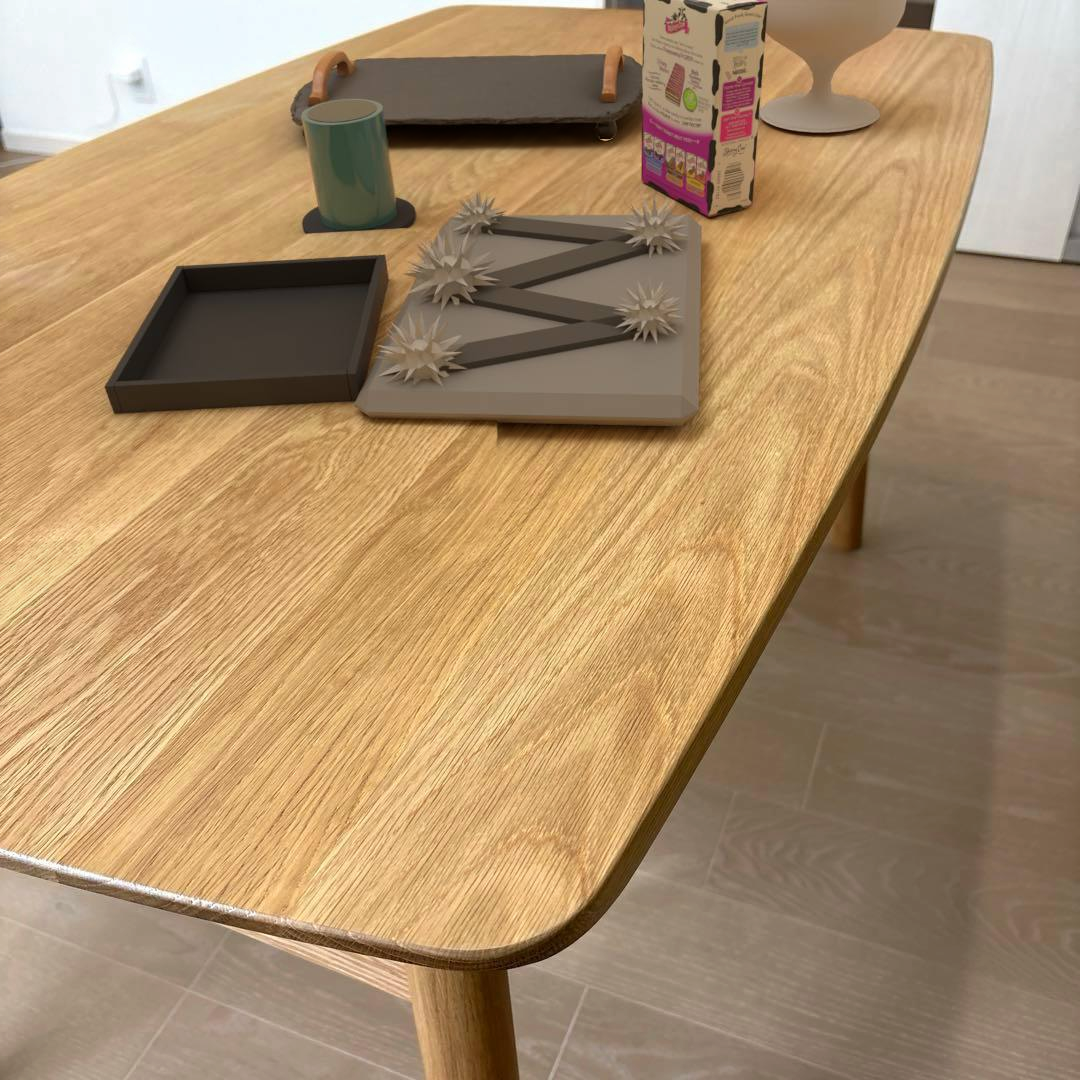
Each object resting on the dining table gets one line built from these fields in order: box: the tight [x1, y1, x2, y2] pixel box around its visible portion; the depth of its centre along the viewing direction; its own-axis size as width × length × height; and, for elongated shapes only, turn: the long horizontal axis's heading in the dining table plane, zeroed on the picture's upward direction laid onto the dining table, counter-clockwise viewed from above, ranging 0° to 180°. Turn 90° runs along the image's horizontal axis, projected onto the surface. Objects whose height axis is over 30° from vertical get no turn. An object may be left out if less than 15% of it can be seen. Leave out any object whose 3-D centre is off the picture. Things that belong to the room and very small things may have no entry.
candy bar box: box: [640, 0, 768, 218], centre depth 90 cm, size 11×5×16 cm, turn 28°
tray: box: [104, 254, 389, 415], centre depth 76 cm, size 16×18×3 cm
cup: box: [301, 99, 398, 232], centre depth 92 cm, size 7×7×9 cm
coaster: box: [301, 196, 417, 235], centre depth 95 cm, size 10×10×1 cm
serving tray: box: [290, 44, 643, 142], centre depth 115 cm, size 39×23×6 cm, turn 82°
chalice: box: [759, 0, 907, 133], centre depth 105 cm, size 14×14×15 cm
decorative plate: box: [354, 190, 703, 427], centre depth 76 cm, size 30×22×7 cm
